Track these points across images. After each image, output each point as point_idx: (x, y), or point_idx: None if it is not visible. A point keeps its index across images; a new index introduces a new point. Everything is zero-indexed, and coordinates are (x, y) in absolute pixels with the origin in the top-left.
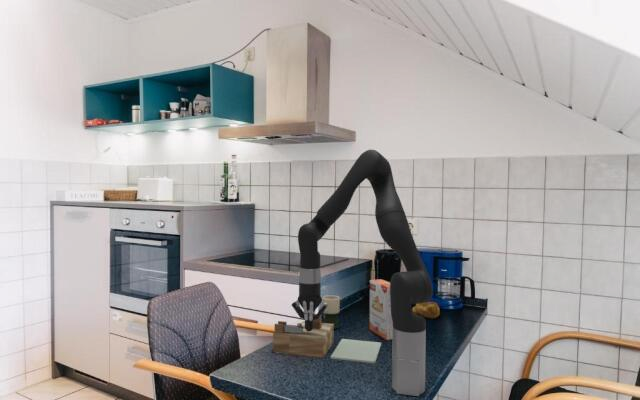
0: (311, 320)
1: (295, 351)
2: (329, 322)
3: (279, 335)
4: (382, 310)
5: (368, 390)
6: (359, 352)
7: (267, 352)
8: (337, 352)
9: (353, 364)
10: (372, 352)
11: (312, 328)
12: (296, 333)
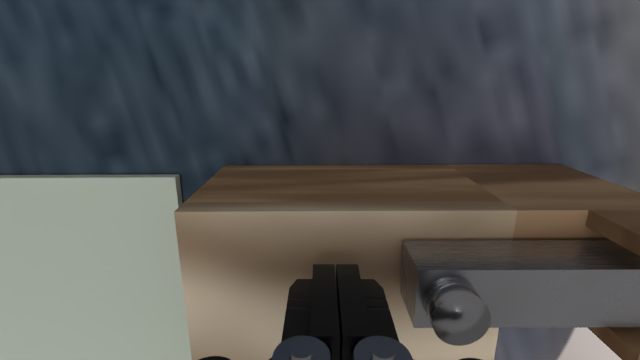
0: (291, 339)
1: (412, 170)
2: None
3: (605, 202)
4: None
5: None
6: (35, 289)
7: (595, 161)
8: (158, 255)
9: (13, 124)
10: None
11: (291, 288)
12: None
